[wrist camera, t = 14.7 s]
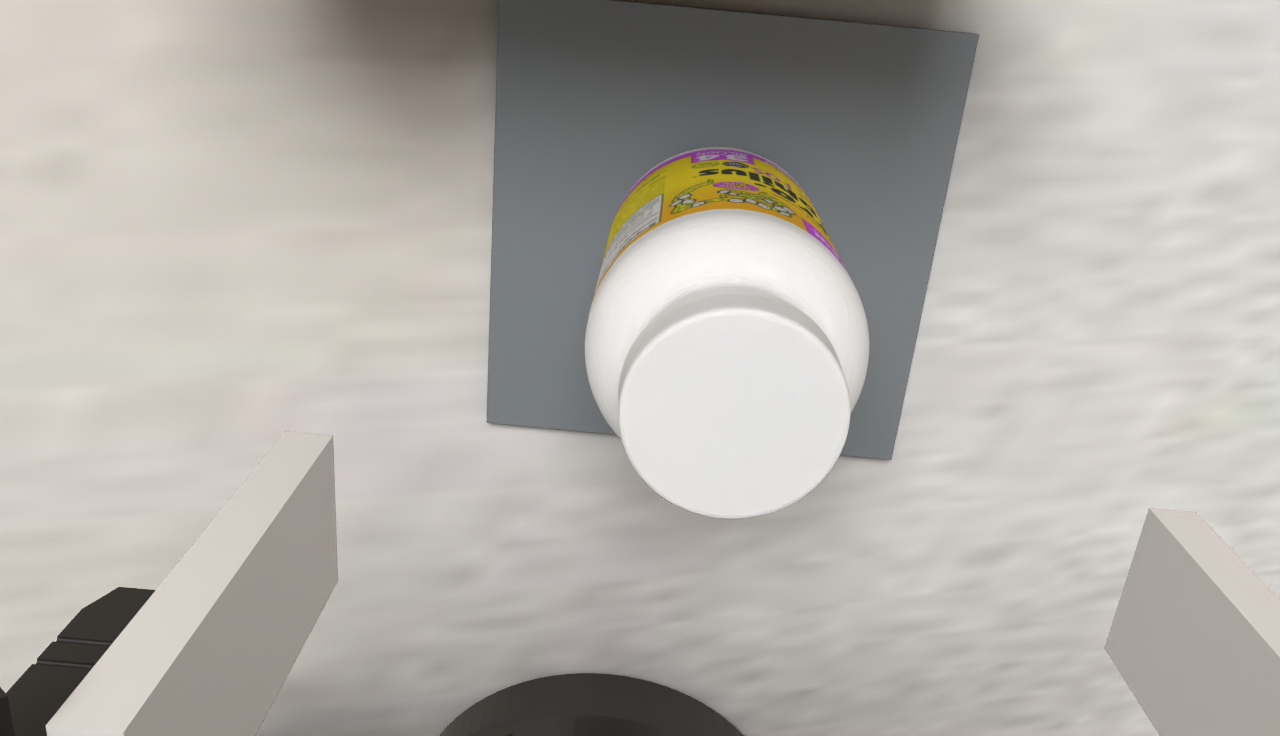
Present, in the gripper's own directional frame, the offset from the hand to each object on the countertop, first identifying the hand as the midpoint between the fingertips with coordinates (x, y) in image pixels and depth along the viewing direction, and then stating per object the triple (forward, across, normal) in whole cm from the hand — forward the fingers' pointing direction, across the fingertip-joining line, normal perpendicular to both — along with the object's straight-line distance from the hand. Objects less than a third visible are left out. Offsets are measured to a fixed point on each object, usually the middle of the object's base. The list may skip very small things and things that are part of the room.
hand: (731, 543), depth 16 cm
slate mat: (+17, 0, 0) cm, 17 cm away
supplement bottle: (+17, 0, 0) cm, 17 cm away
